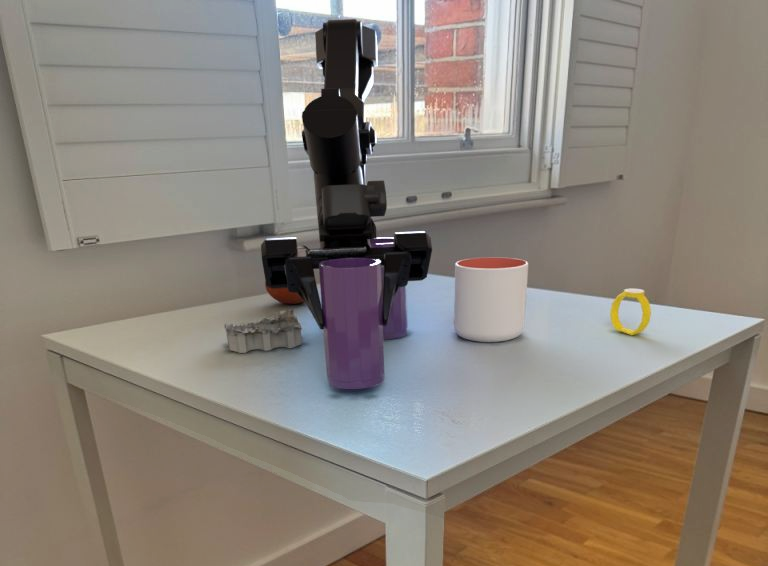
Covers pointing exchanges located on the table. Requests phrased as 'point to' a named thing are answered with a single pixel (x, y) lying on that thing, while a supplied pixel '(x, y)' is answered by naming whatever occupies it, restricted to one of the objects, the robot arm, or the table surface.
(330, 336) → the plum cup
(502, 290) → the cup
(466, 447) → the table surface
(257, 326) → the egg carton
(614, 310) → the watch
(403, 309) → the plum cup
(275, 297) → the fruit
